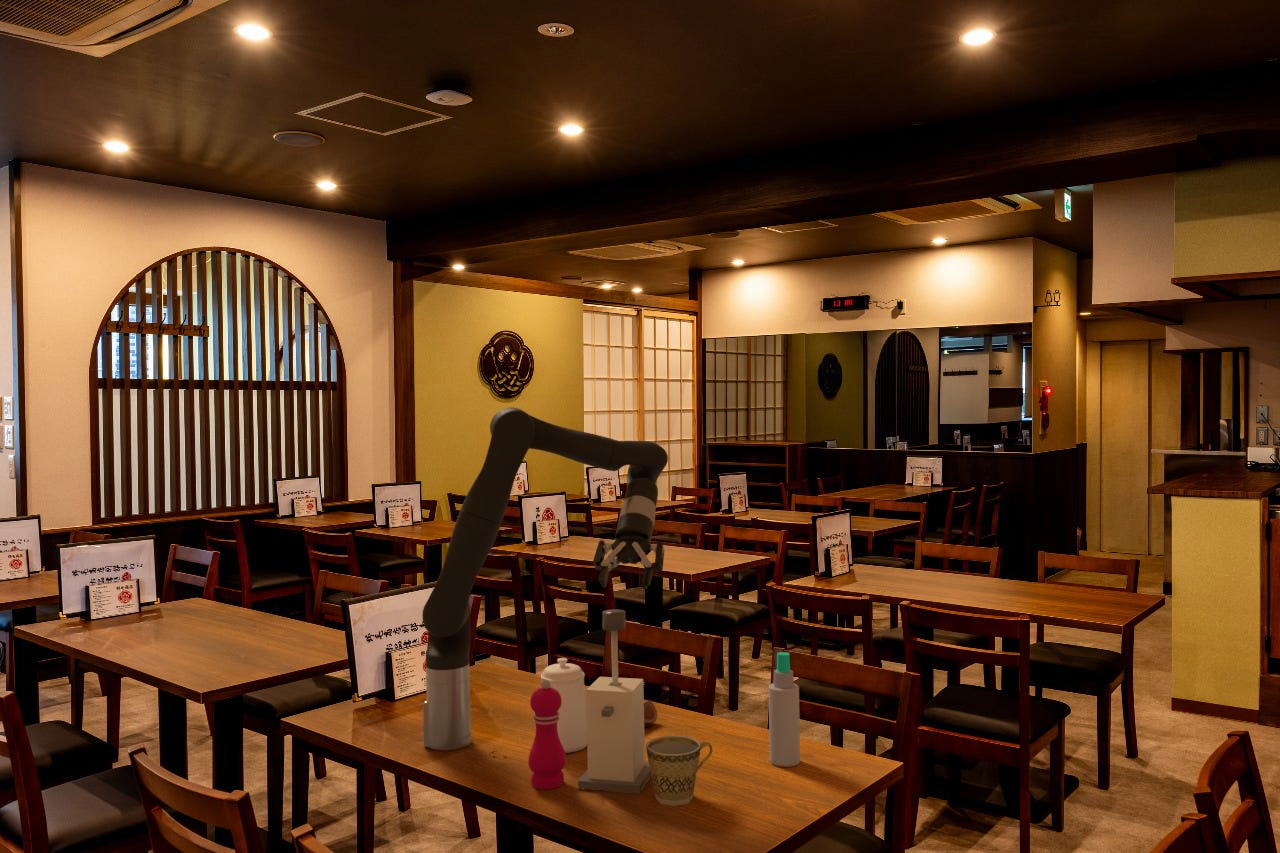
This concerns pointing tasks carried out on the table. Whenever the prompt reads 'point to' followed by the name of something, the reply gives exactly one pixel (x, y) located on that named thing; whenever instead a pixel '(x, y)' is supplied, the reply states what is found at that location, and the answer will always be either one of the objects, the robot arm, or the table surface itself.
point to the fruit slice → (649, 713)
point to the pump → (614, 636)
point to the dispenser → (615, 737)
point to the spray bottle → (784, 715)
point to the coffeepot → (569, 703)
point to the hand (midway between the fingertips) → (623, 585)
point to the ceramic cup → (674, 767)
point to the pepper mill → (546, 739)
